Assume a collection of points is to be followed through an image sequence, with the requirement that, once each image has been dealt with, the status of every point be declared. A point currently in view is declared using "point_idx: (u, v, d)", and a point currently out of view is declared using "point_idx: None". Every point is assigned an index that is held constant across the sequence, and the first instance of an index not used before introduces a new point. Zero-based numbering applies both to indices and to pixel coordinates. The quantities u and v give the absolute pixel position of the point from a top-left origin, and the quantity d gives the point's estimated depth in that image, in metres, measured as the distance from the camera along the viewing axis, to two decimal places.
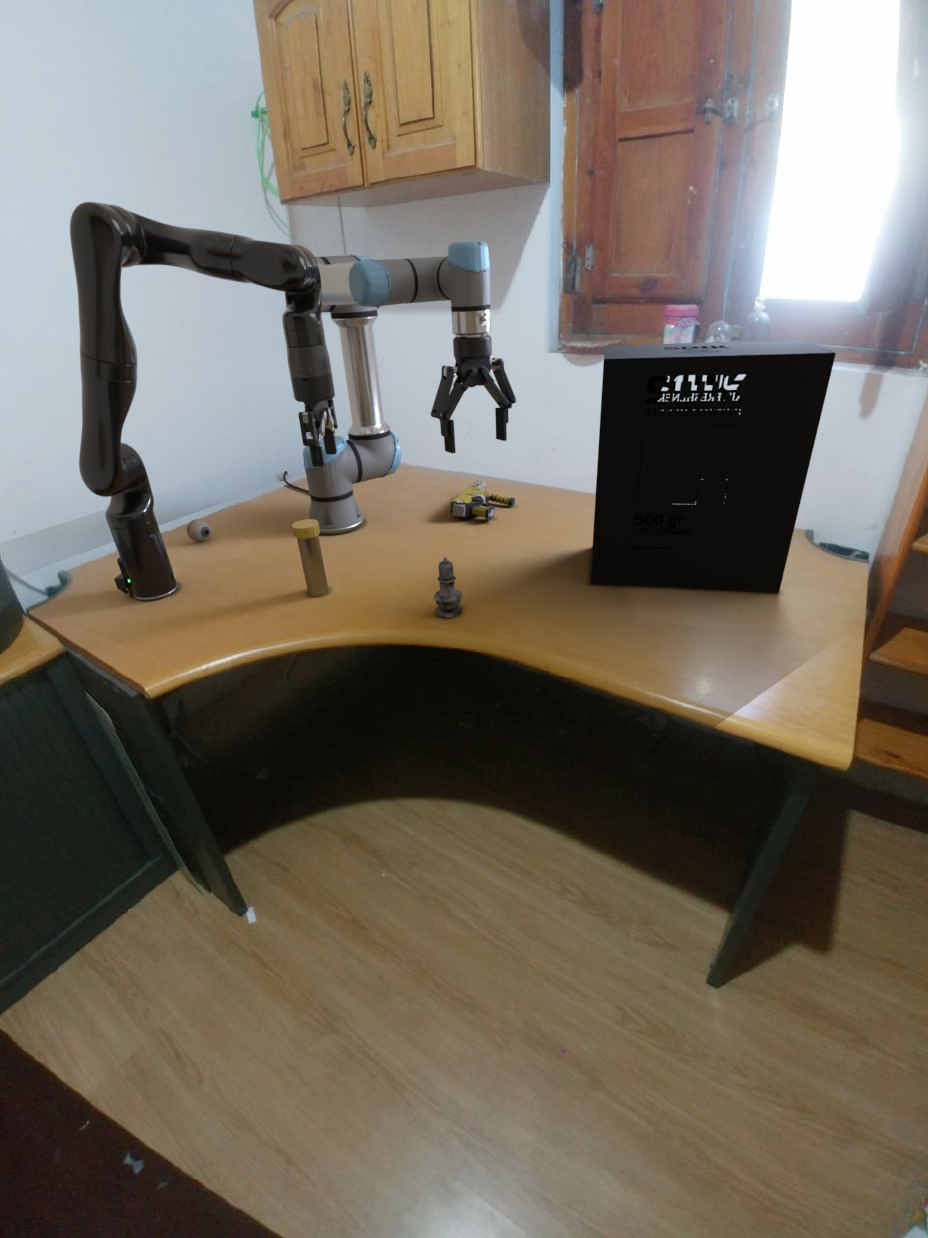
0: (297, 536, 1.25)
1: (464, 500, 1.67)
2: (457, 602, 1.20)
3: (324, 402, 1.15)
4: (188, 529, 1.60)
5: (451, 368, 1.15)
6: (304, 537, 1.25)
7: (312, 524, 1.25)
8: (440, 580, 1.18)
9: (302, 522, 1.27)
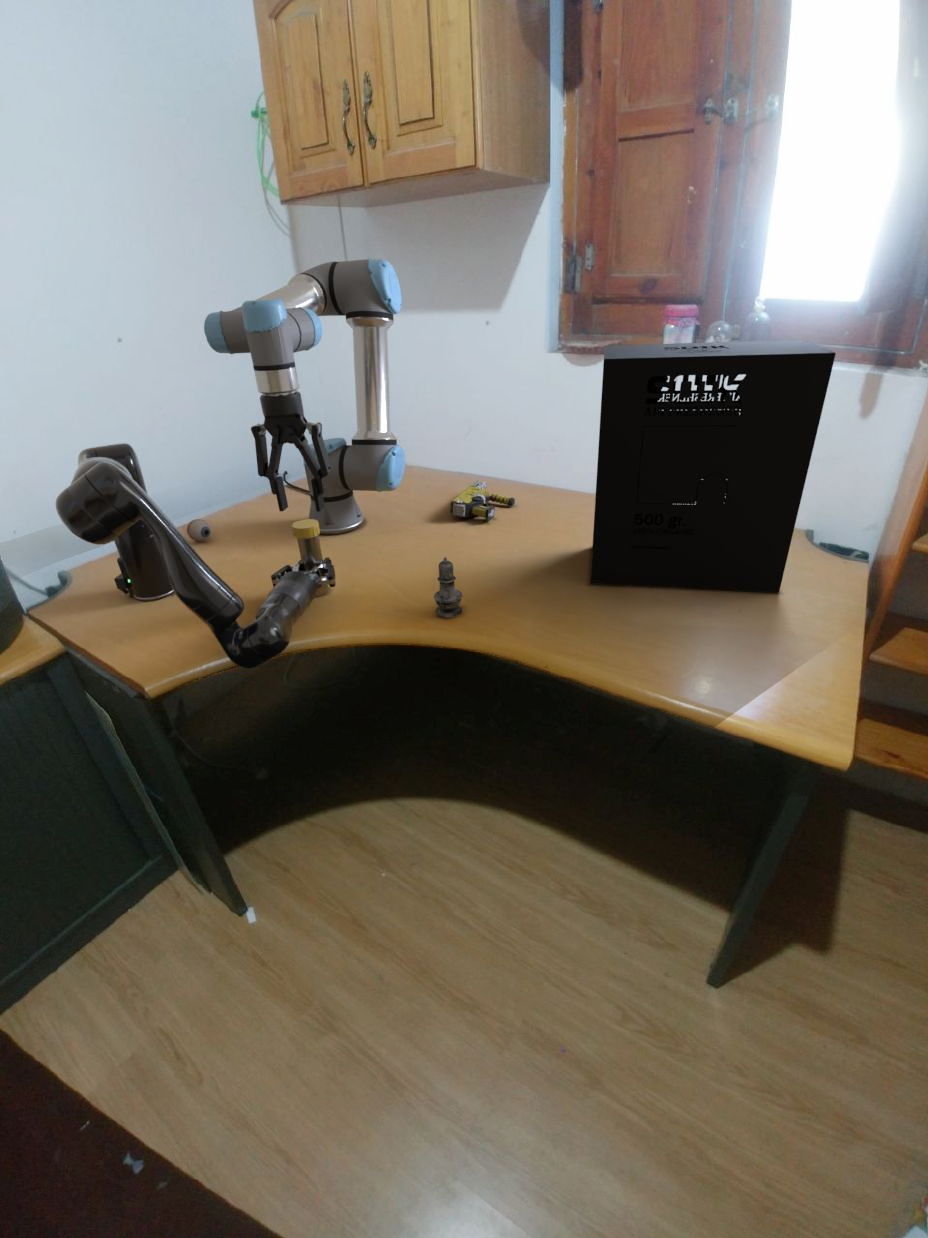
0: (297, 536, 1.25)
1: (464, 500, 1.67)
2: (457, 602, 1.20)
3: None
4: (188, 529, 1.60)
5: None
6: (304, 537, 1.25)
7: (312, 524, 1.25)
8: (440, 580, 1.18)
9: (302, 522, 1.27)
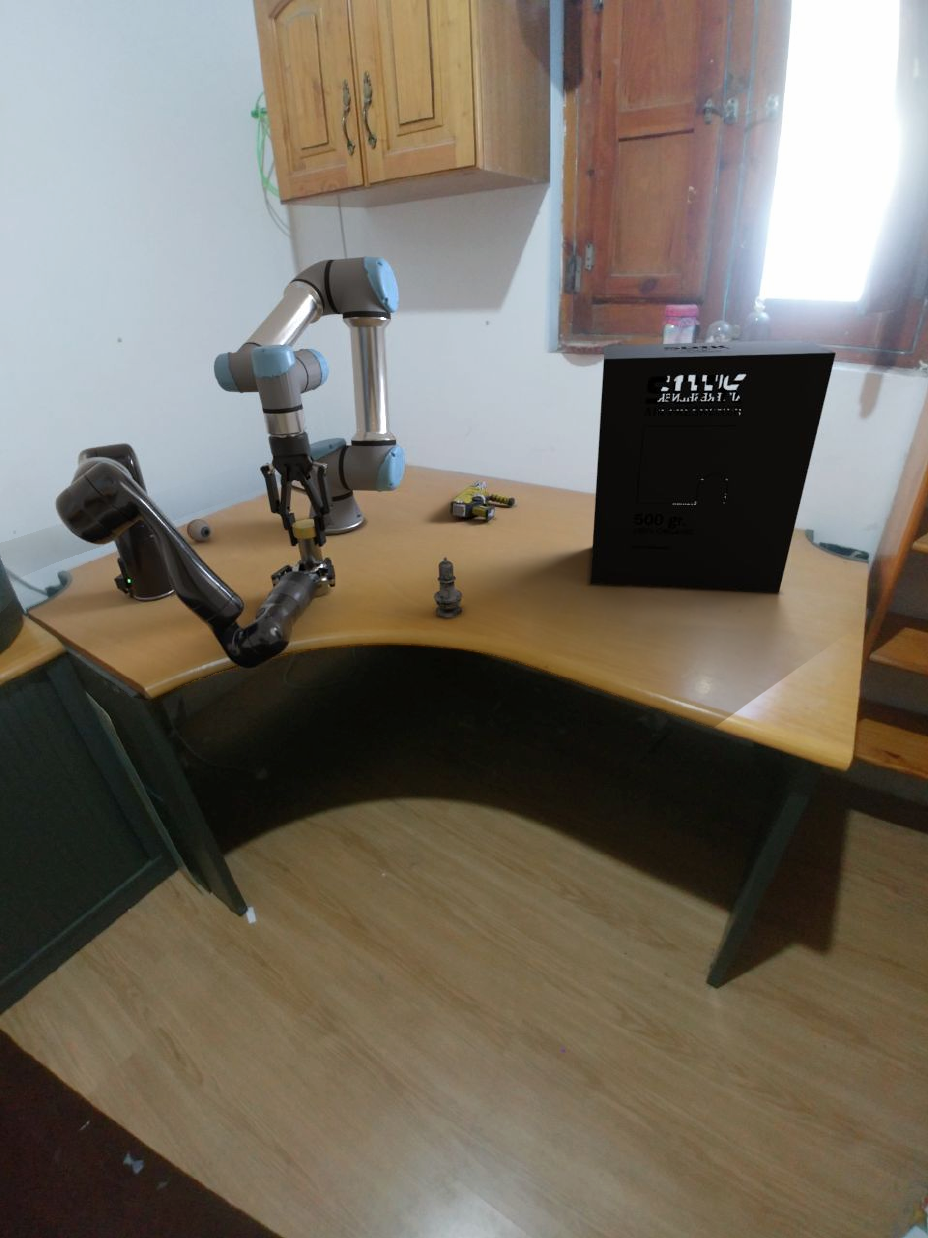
0: (297, 536, 1.25)
1: (464, 500, 1.67)
2: (457, 602, 1.20)
3: None
4: (188, 529, 1.60)
5: None
6: (304, 537, 1.25)
7: (312, 524, 1.25)
8: (440, 580, 1.18)
9: (302, 522, 1.27)
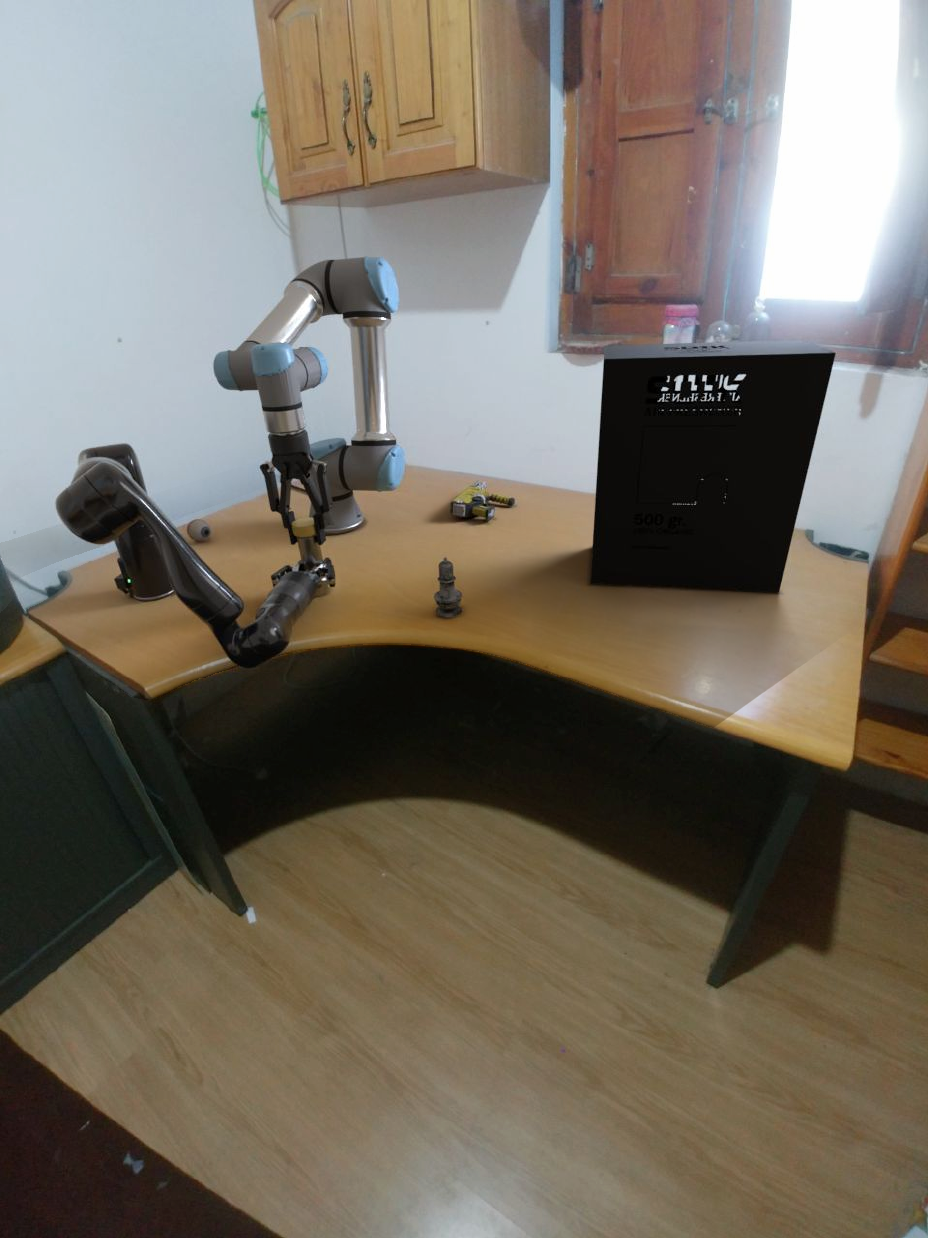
0: None
1: (464, 500, 1.67)
2: (457, 602, 1.20)
3: None
4: (188, 529, 1.60)
5: None
6: None
7: (307, 518, 1.27)
8: (440, 580, 1.18)
9: (301, 523, 1.25)
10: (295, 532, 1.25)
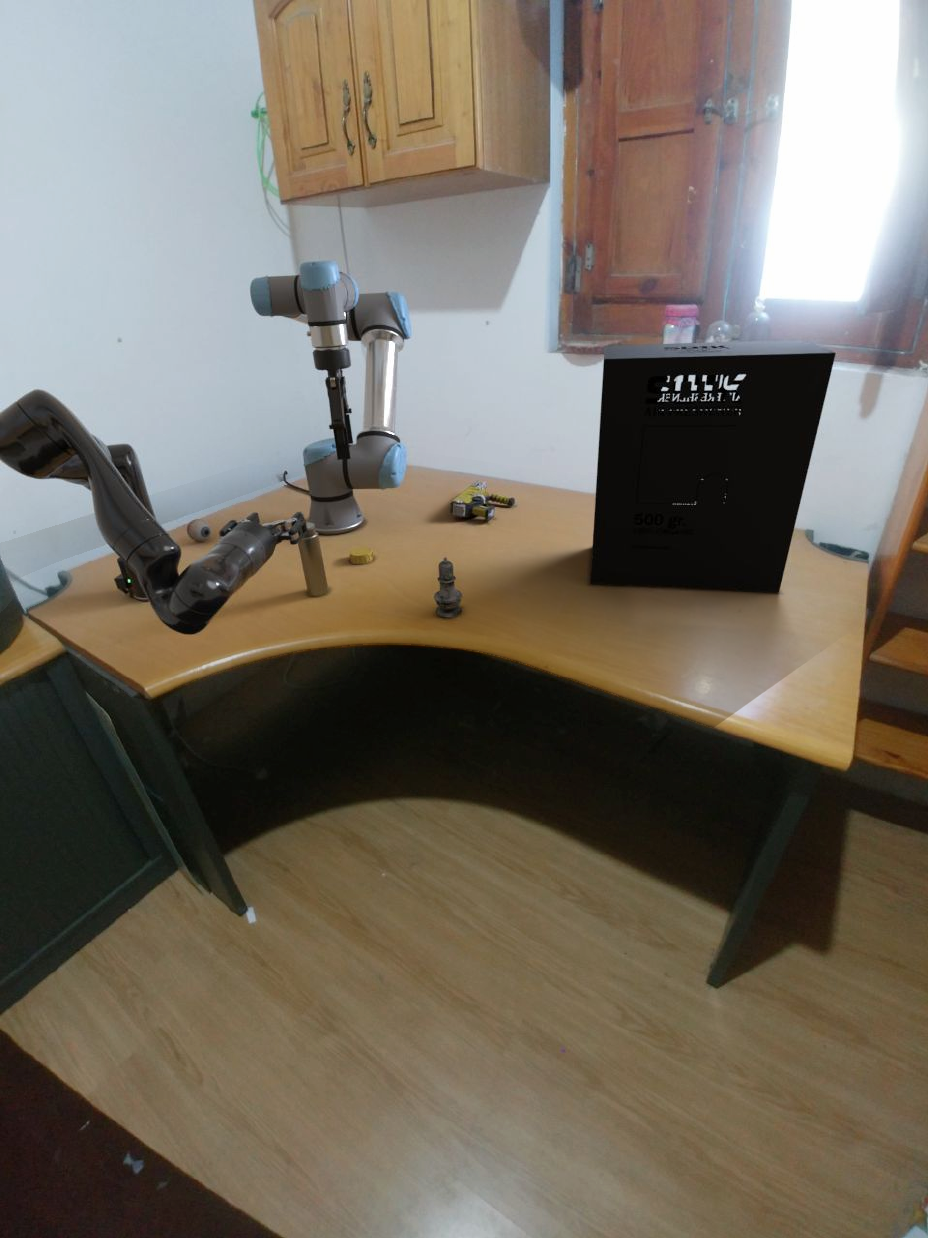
0: None
1: (464, 500, 1.67)
2: (457, 602, 1.20)
3: None
4: (188, 529, 1.60)
5: None
6: None
7: (352, 551, 1.47)
8: (440, 580, 1.18)
9: (364, 551, 1.47)
10: (370, 557, 1.47)
